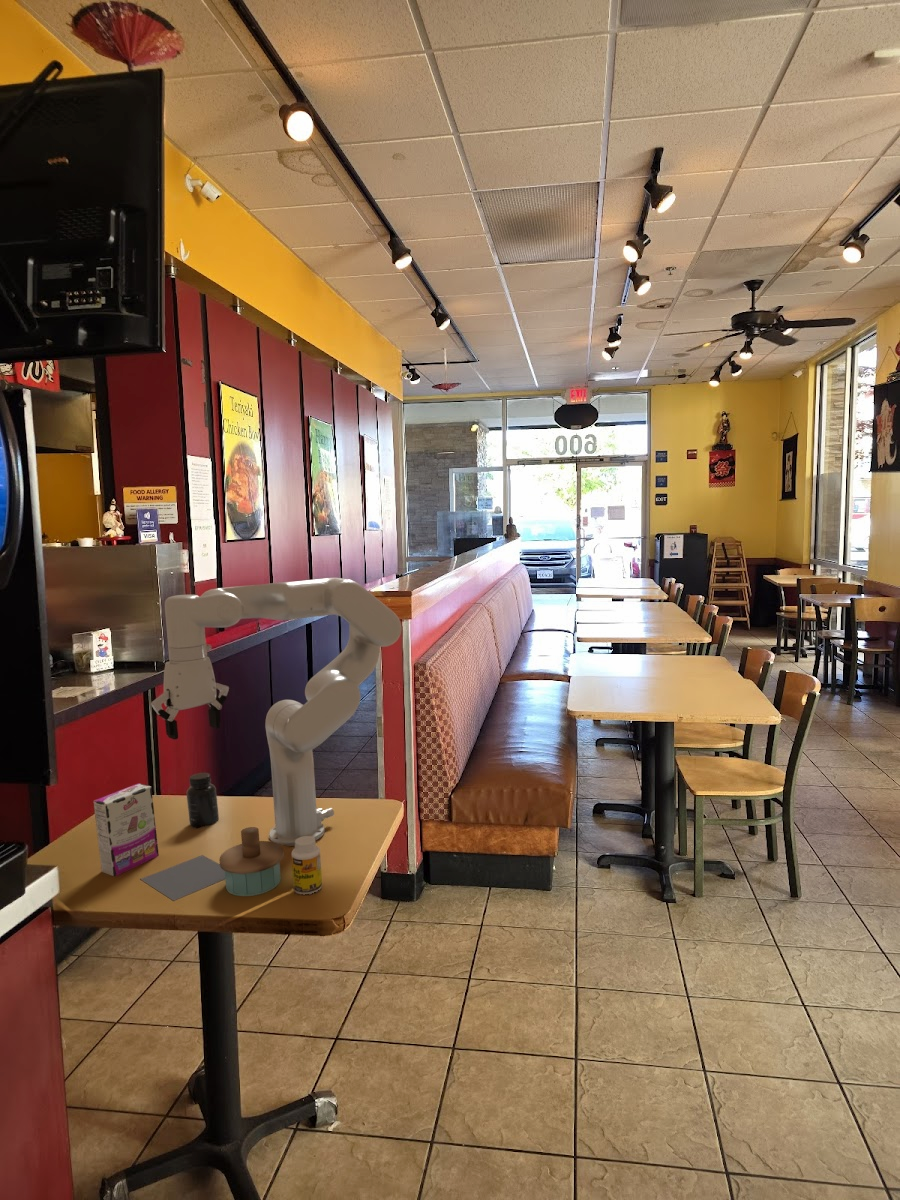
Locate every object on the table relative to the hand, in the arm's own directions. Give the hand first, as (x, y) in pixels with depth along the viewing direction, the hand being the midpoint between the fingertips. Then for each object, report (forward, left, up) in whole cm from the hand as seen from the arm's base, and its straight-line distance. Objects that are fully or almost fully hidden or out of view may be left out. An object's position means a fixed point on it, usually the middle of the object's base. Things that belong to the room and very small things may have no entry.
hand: (194, 732), depth 166 cm
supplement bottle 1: (-10, -18, -28) cm, 35 cm away
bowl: (0, +19, -28) cm, 34 cm away
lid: (0, +19, -23) cm, 30 cm away
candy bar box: (+12, -10, -28) cm, 32 cm away
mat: (+7, +6, -28) cm, 30 cm away
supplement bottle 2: (-6, +29, -28) cm, 41 cm away
